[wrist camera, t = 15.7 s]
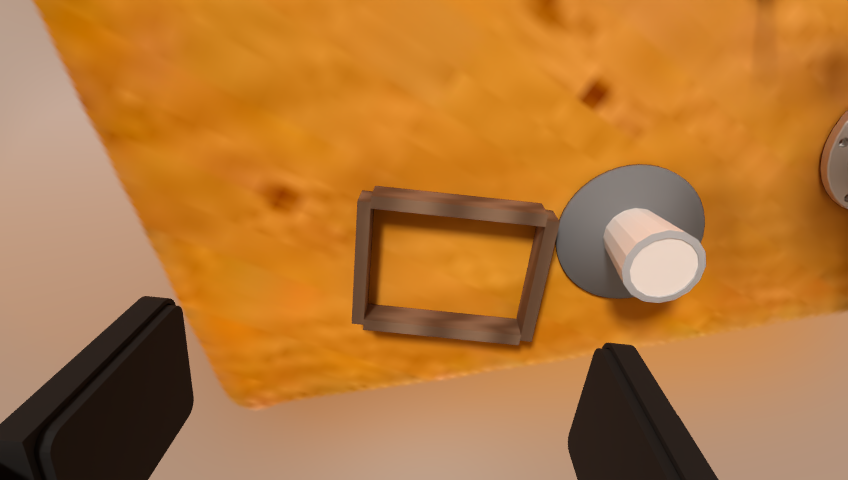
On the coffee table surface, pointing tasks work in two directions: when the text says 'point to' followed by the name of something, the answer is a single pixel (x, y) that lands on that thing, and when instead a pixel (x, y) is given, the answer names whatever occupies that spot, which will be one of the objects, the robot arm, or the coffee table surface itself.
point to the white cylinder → (653, 255)
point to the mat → (609, 198)
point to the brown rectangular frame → (448, 321)
